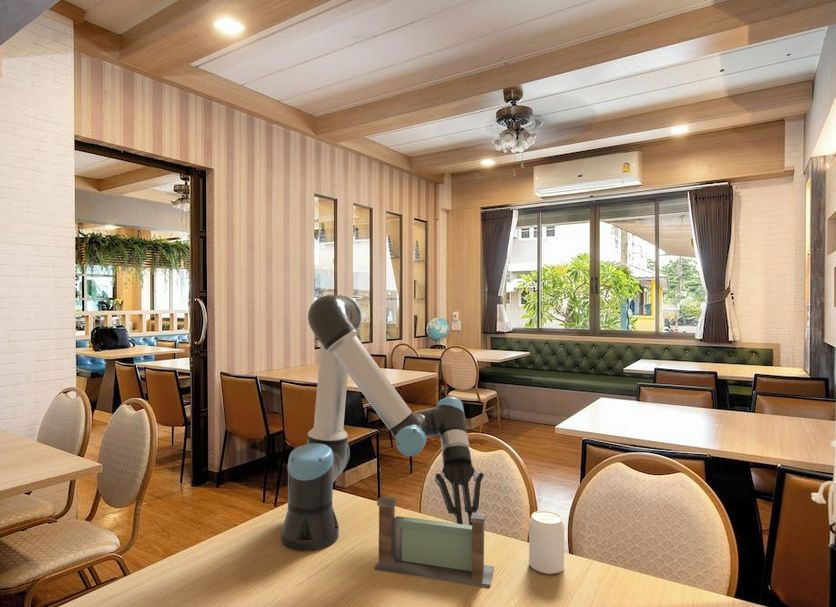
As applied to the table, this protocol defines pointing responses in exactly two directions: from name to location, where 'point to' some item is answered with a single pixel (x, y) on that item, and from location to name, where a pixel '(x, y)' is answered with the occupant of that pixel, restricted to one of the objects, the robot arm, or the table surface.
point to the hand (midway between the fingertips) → (467, 541)
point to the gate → (433, 543)
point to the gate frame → (477, 576)
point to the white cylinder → (546, 542)
